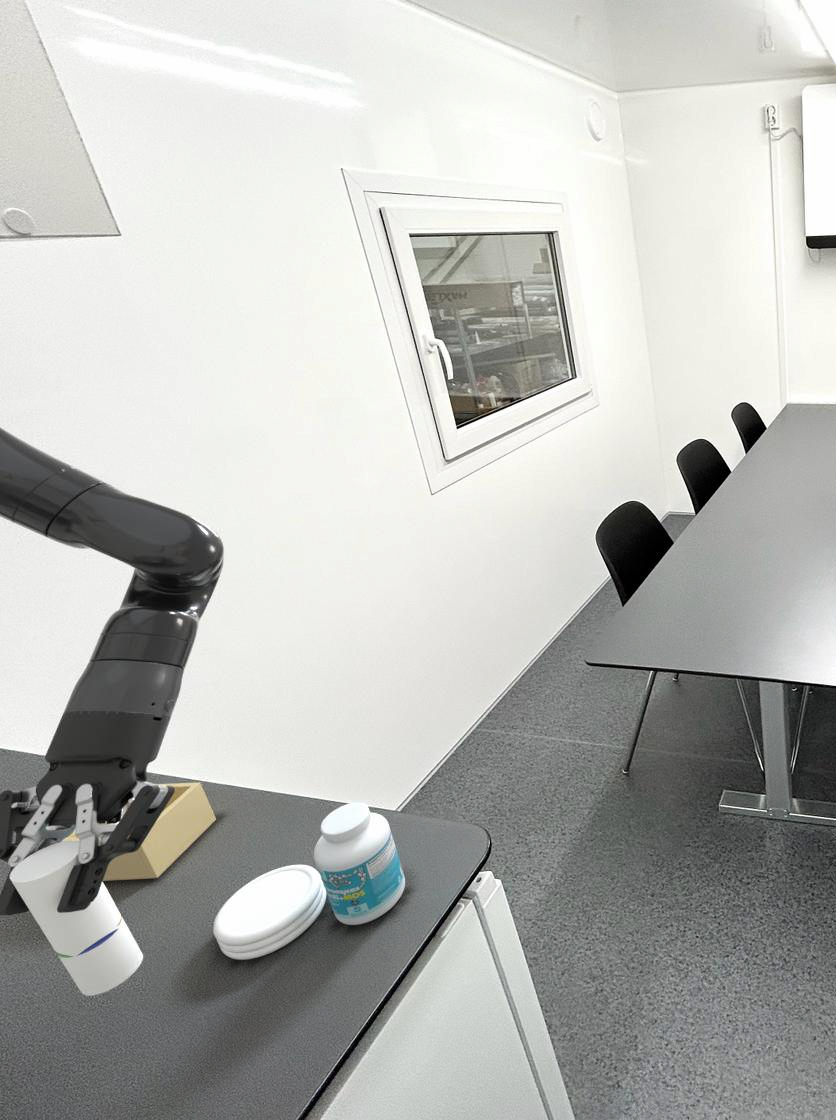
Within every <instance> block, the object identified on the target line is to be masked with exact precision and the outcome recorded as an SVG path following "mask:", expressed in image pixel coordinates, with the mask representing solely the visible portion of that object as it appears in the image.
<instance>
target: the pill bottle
mask: <svg viewBox="0 0 836 1120" xmlns="http://www.w3.org/2000/svg"><path fill="white" fill-rule="evenodd" d="M320 831H321V836H320V838H319V839H318V840H317V842H316V844H315V847H314V850H313V859H314V862H315V865H316V868H317V871H318V872H319V874H320V876H321V880H322V881H323V884H324V887H325V889H326V896H327V897H328V901H329V904H330V906H331V909H332V911H333V915H334V917H335V918H336V919H337V921H339V922H340V923H341V924H343V925H348V926H357V925H363V924H367V923H369V922H372V921H374V920H376V919H378V918H379V917H381V916H383V915H384V914H386V913H387V912H388V911H389V910H391V909H392V908H393V907H394V906H395V905H396V904H397V902H399V900H400V898H401V897H402V895H403V893H404V890H405V886H406V877H405V874H404V871H403V867H402V864H401V861H400V857H399V853H398V850H397V847H396V844H395V840H394V838H393V833H392V830H391V827H390V824H389V822H388V820H387V819H386V818H385V817H384V816H383V815H382V814H379V813H376V812H371V811H370V808H369V806H368V805H367V804H366V803H364V802H350V803H347V804H344V805H342V806H339V807H337V808H336V809H334V810H333V811H331V812H330V813H329V814H327V815H326V816H325V818H324V819H323V820H322V822H321V824H320Z"/></svg>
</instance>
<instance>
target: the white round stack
mask: <svg viewBox="0 0 836 1120" xmlns="http://www.w3.org/2000/svg"><path fill="white" fill-rule="evenodd" d="M326 901H327V892H326V889H325V887H324V884H323V881H322V879H321V876H320V873H319V870H318V869H316V868H315V867H313V866H311V865H308V864H307V865H306V864H291V865H286V866H282V867H279V868H275V869H272V870H270V871H268V872H266V873H263V874H261V875H259V876H257V877H255V878H254V879H253V880H251V881H249V882H248V883H246V884H245V885H244V886H242V887H241V888H239V889H238V890H237V891H235V892H234V894H233V895H232V896H230V898H228V899H227V900H226V902H225V903H224V904H222V907H221V908H220V909H219V911H218V912H217V914H216V916H215V918H214V922H213V925H212V927H213V928H212V933H213V936H214V938H215V939H216V942H217V944H218V945H219V949H220V950H221V952H222V953H223V955H225V956H227V957H229V958H231V959H233V960H238V961H243V960H244V961H245V960H253V959H257V958H260V957H264V956H266V955H269V954H271V953H274V952H275V951H277V950H279V949H281V948H283V947H285V946H286V945H288V944H289V943H291V942H292V941H294V940H295V939H297V938H298V937H300V935H302V934H303V933H304V932H305V931H306V930H307V929H308V928H309V927H311V926H312V924H313V923H314V922H315V921H316V920H317V919H318V918H319V916H320V914H321V912H322V911H323V909H324V907H325V904H326Z"/></svg>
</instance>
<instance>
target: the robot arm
mask: <svg viewBox="0 0 836 1120" xmlns="http://www.w3.org/2000/svg"><path fill="white" fill-rule="evenodd" d="M0 517H1V518H3V519H5V520H7V521H9V522H11V523H14V524H16V525H18V526H19V527H22V528H25V529H27V530H29V531H32V532H34V533H36V534H38V535H40V536H42V537H45V538H47V539H50V540H51V541H55V542H57V543H58V544H62V545H65V546H68V547H71V548H74V549H79V550H80V549H81V550H84V549H85V550H87V549H91V550H94V551H96V552H98V553H101V554H103V555H106V556H107V557H110V558H112V559H115V560H117V561H119V562H122V563H124V564H126V565H128V566H130V567H132V568H134V569H133V573H132V576H131V579H130V582H129V585H128V587H127V588H126V591H125V594H124V597H123V599H122V601H121V604H120V606H119V609H118V610H115V611H114V612H113V613H112V614H110V616H109V617H108V619H107V621H106V622H105V624H104V626H103V629H102V630H101V632H100V634H99V637H98V640H97V642H96V644H95V647H94V649H93V651H92V654H91V656H90V659H89V661H88V663H87V664H86V667H85V668H84V670H83V672H82V674H81V675H80V677H79V678H78V680H77V682H76V684H74V687H73V690H72V692H71V694H70V697H69V699H68V701H67V704H66V707H65V709H64V711H63V712H62V714H61V718H60V720H59V722H58V724H57V727H56V729H55V732H54V734H53V736H52V738H51V740H50V744H49V746H48V748H47V751H46V753H45V756H44V760H45V761H46V763H49V768H48V770H47V772H46V773H45V774H44V776H42V778H41V779H39V781H38V782H37V784H36V785H33V786H30V787H27V788H24V789H20V790H19V789H15V790H14V789H13V790H11V789H9V790H8V789H7V790H4V791H2V792H1V793H0V861H4V862H6V863H7V865H8V866H9V868H10V870H9V873H8V874H7V877H6V879H5V882H4V884H3V887H2V889H1V891H0V917H1V916H13V915H19V914H24V913H27V912H30V910H29V908H28V907H27V905H26V904H25V902H24V900H23V899H22V897H21V896H20V894H19V892H18V891H17V889H16V888H15V886H14V884H13V883H12V881H11V880H10V874H11V872H12V870H13V869H14V868H15V867H16V866H17V865H18V864H19V863H20V862H21V861H23V860H24V859H26V858H27V857H28V856H30V855H32V854H34V853H35V852H37V851H39V850H41V849H43V848H46V847H48V846H50V845H53V844H56V843H60V842H62V840H63V839H65V838H67V837H68V836H70V835H71V834H72V833H73V831H74V830H75V836H76V837H77V838H79V840H80V844H79V854H78V861H79V863H81V864H80V865H74V867H73V869H72V871H71V873H70V876H69V878H68V881H67V884H66V886H65V889H64V892H63V894H62V897H61V900H60V902H59V905H58V907H57V911H58V912H59V913H66V912H74V911H80V910H84V909H86V908H87V907H88V906H89V905H90V903H91V902H93V901H94V899H95V898H96V897H97V895H98V892H99V890H100V887H101V884H102V881H103V878H104V876H105V873H106V870H107V867H108V865H109V863H110V862H111V861H112V860H113V859H114V858H116V857H118V856H120V855H123V854H126V853H133V852H135V851H137V850H138V849H139V848H140V846H141V845H142V843H143V842H144V840H145V838H146V837H147V835H148V834H149V832H150V830H151V829H152V827H153V826H154V824H155V823H156V821H157V819H158V818H159V816H160V815H161V813H162V811H163V810H164V808H165V807H166V805H167V803H168V802H169V800H170V799H171V797H172V796H173V794H174V792H175V788H174V787H173V786H166V785H156V784H157V783H153V782H150V781H148V774H147V770H148V766H149V764H151V763H152V762H154V761H156V759H157V758H158V755H159V753H160V750H161V746H162V744H163V741H164V738H165V736H166V733H167V729H168V727H169V724H170V721H171V719H172V715H173V713H174V710H175V708H176V706H177V702H178V699H179V696H180V692H181V688H182V683H183V676H184V673H185V669H186V668H187V664H188V661H189V658H190V657H191V656H190V655H191V653H192V650H193V647H194V644H195V642H196V638H197V634H198V629H199V624H200V621H201V618H202V617H203V615H204V613H205V610H206V609H207V607H208V605H209V603H210V601H211V598H212V596H213V594H214V592H215V589H216V587H217V584H218V582H219V581H220V580H219V579H220V577H221V574H222V571H223V568H224V557H225V546H224V542H223V540H222V538H221V536H220V535H219V534H218V533H217V531H215V530H214V529H213V528H212V527H211V526H209V525H207V524H205V523H204V522H202V521H201V520H199V519H198V518H196V517H195V518H194V517H193V516H190V515H189V514H186V513H184V512H181V511H179V510H176V509H174V508H171V507H168V506H165V505H162V504H160V503H157V502H153V501H151V500H148V499H146V498H145V499H144V498H142V497H138V496H134V495H132V494H128V493H126V492H125V491H122V490H121V489H119V488H117V487H115V486H114V485H112V484H110V483H107V482H105V481H104V480H101V479H99V478H97V477H95V476H93V475H92V474H89V473H87V472H85V471H83V470H81V469H79V468H77V467H75V466H73V465H71V464H69V463H67V462H65V461H62V460H61V459H59V458H56V457H54V456H53V455H51V454H49V453H47V452H45V451H43V450H41V449H39V448H37V447H35V446H33V445H31V444H30V443H28V442H26V441H25V440H22V439H21V438H19V437H17V436H16V435H15V434H12V433H10V432H9V431H7V430H6V429H4V428H2V427H1V426H0ZM128 803H129V804H131V805H130V806H129V808H128V809H127V804H128ZM126 810H127V811H126ZM106 821H107V823H106ZM105 823H106V824H105ZM132 830H133V831H132ZM14 833H15V841H14V843H13V838H14ZM130 833H131V834H130ZM128 836H129V837H128ZM99 838H101V841H100V846H99ZM103 882H104V881H103Z"/></svg>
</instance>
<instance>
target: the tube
mask: <svg viewBox="0 0 836 1120" xmlns="http://www.w3.org/2000/svg"><path fill="white" fill-rule="evenodd" d="M79 844H80V842H79V841H74V840H72V841H64V842H60V843H56V844H53V845H50V846H48V847H46V848H43V849H41V850H39V851H37V852H35V853H34V854H32V855H30V856H28V857H27V858H26V859H24V860H23V861H21V862H20V863H19V864H18V865H17V866H16V867H15V868H14V869H13V870H12V872H11V874H10V880H11V881H12V883H13V884H14V886H15V888H16V889H17V891H18V892H19V894H20V896H21V897H22V899H23V900H24V902H25V904H26V905H27V907H28V908H29V912H30V913H31V915H32V917H33V918H34V920H35V921H36V923H37V925H38V926H39V928H40V929H41V930H42V932H43V934H44V936H45V938H46V939H47V941H48V942H49V944H50V946H51V947H52V949H53V951H55V953H56V955H57V956H58V958H59V959H60V961H61V963H62V964H63V966H64V968H65V969H66V971H67V972H68V974H69V975H70V977H71V979H72V980H73V982H74V984H75V985H76V987H77V988H78V990H79V991H80V993H81V994H82V995H83V996H88V997H89V996H90V997H91V996H92V997H93V996H97V995H100V994H101V995H102V994H103V993H107V992H108V991H111V990H112V989H114V988H116V987H118V986H120V985H121V984H122V983H124V982H125V981H127V980H128V979H129V978H130V977H131V976H132V975H133V974H134V973H135V972H136V971H137V970H138V969H139V968H140V967H141V965H142V962H143V959H144V954H143V952H142V951H141V948H140V947H139V945H138V943H137V941H136V940H135V938H134V935H133V934H132V932H131V931H130V929H129V927H128V925H127V923H126V921H125V920H124V917H123V916H122V915H121V912H120V910H119V909H118V907H117V905H116V903H115V901H114V899H113V898H112V896H111V894H110V892H109V891H108V888H107V887H106V885H105V884H104V881H102V884H101V887H100V890H99V892H98V895H97V897H96V898H95V899H94V901H93V902H91V903H90V905H89V906H88V907H87V908H86V909H84V910H80V911H74V912H66V913H59V912H58V911H57V907H58V905H59V902H60V900H61V897H62V894H63V892H64V889H65V886H66V884H67V881H68V878H69V876H70V873H71V871H72V869H73V867H74V865H80V864H81V863H79V861H78V854H79Z"/></svg>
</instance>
